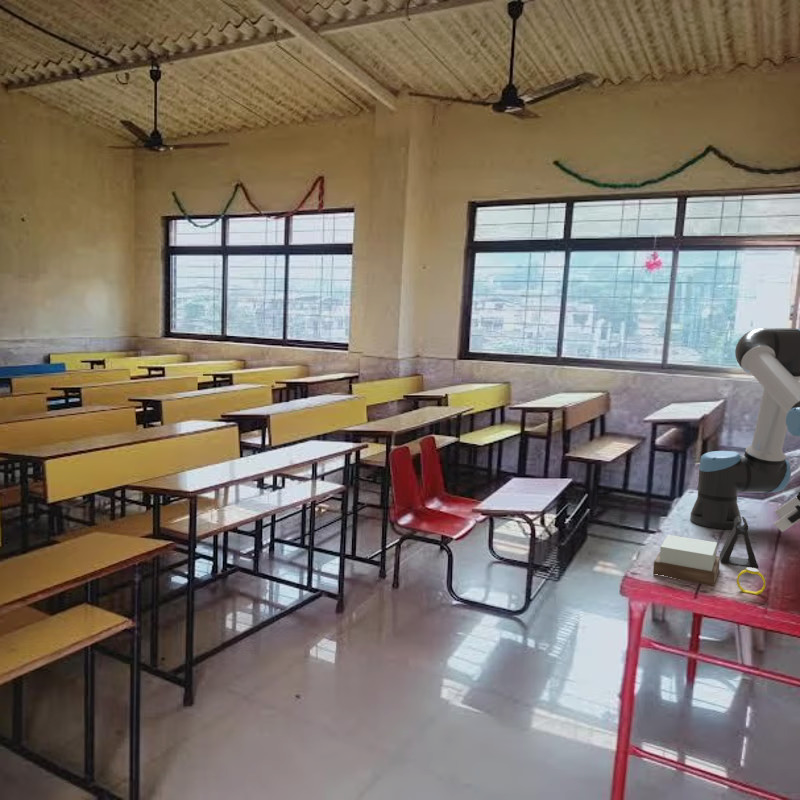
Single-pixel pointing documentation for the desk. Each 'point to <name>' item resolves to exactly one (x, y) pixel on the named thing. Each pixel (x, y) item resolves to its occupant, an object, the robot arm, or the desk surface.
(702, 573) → the lower block
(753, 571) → the watch
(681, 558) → the upper block
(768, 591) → the desk surface
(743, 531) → the phone stand
